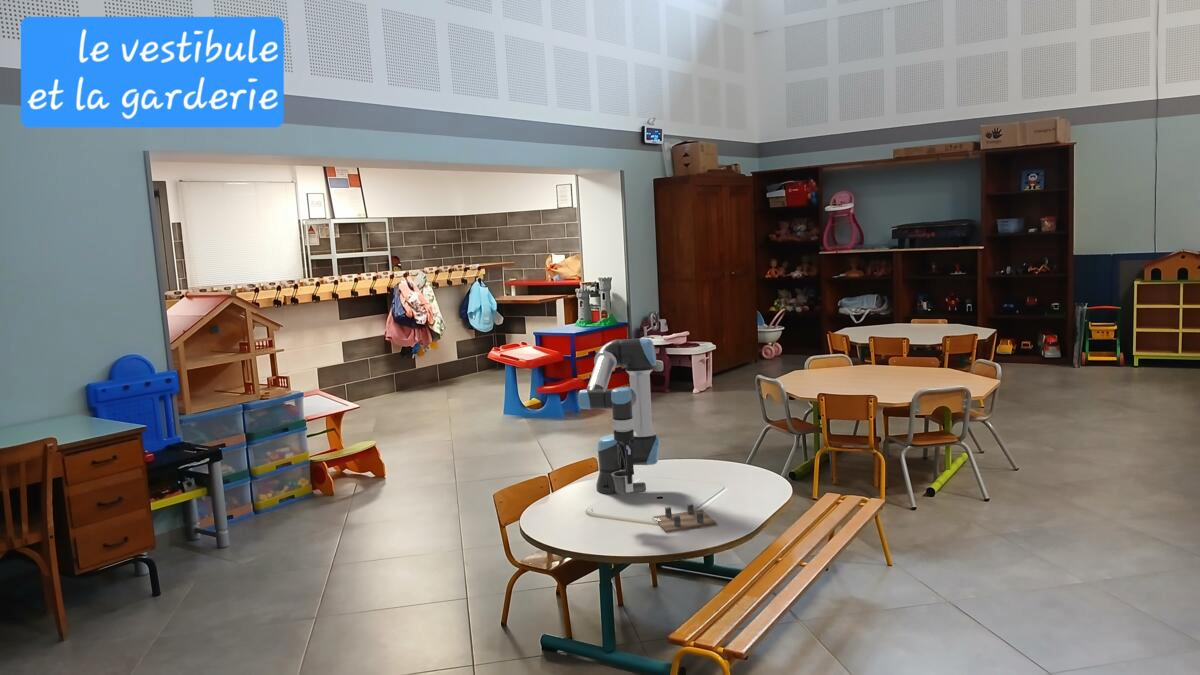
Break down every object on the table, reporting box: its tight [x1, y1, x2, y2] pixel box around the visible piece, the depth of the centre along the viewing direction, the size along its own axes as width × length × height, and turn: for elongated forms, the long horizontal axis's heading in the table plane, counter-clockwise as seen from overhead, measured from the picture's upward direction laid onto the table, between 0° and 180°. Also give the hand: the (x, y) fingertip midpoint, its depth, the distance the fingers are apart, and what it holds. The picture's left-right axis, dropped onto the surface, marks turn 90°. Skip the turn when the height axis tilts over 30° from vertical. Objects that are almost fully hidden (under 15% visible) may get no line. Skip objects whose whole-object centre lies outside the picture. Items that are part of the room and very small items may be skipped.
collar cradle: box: [652, 503, 718, 533], centre depth 325 cm, size 16×20×4 cm
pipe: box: [611, 471, 647, 496], centre depth 324 cm, size 6×13×8 cm, turn 81°
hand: (627, 488), depth 325 cm, fingers closed on pipe, 6 cm apart
